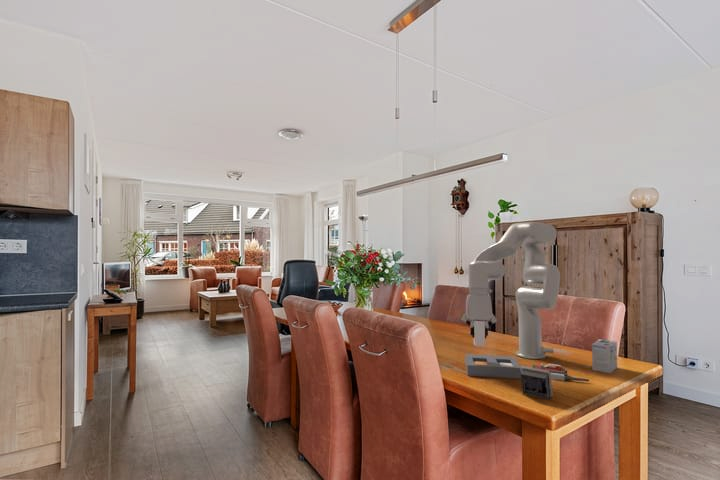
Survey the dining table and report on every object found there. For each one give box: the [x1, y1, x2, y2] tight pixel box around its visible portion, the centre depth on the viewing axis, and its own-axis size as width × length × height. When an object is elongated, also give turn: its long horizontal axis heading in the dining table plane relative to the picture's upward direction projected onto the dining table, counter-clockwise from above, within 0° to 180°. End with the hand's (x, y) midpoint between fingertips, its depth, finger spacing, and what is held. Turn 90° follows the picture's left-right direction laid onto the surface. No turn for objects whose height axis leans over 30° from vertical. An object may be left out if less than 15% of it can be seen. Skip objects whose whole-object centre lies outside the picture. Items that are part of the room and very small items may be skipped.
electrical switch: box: [520, 365, 554, 400], centre depth 125 cm, size 9×5×9 cm, turn 51°
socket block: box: [464, 353, 522, 380], centre depth 151 cm, size 20×16×4 cm
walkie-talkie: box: [531, 363, 590, 382], centre depth 143 cm, size 9×4×20 cm
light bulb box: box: [591, 338, 618, 374], centre depth 153 cm, size 11×7×11 cm, turn 134°
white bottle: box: [473, 320, 486, 347], centre depth 153 cm, size 4×4×12 cm
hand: (479, 336), depth 153 cm, fingers closed on white bottle, 4 cm apart
